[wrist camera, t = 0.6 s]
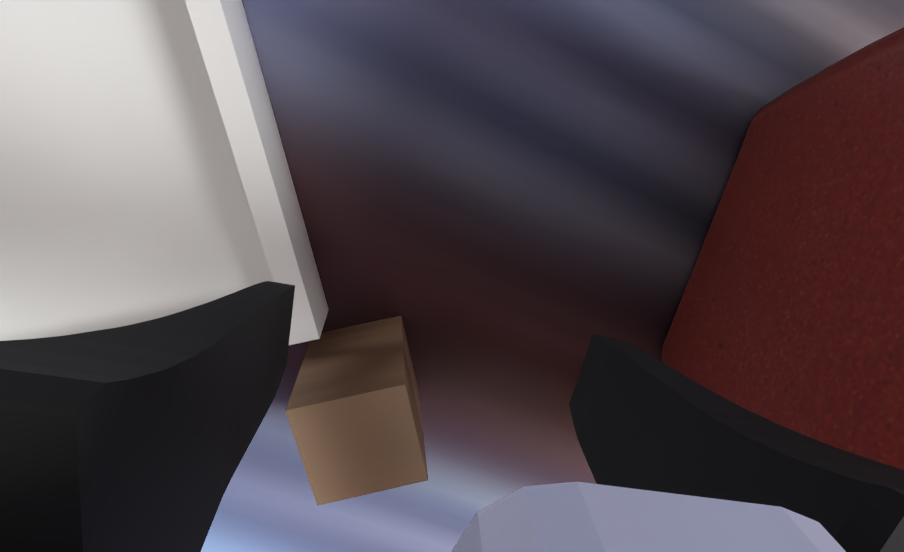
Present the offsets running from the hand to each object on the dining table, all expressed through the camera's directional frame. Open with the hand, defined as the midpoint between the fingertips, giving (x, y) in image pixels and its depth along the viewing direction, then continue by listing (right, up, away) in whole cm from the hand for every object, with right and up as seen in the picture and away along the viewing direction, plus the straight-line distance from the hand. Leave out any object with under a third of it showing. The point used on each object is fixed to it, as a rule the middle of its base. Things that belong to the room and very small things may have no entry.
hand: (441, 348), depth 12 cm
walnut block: (-4, -2, +11) cm, 12 cm away
